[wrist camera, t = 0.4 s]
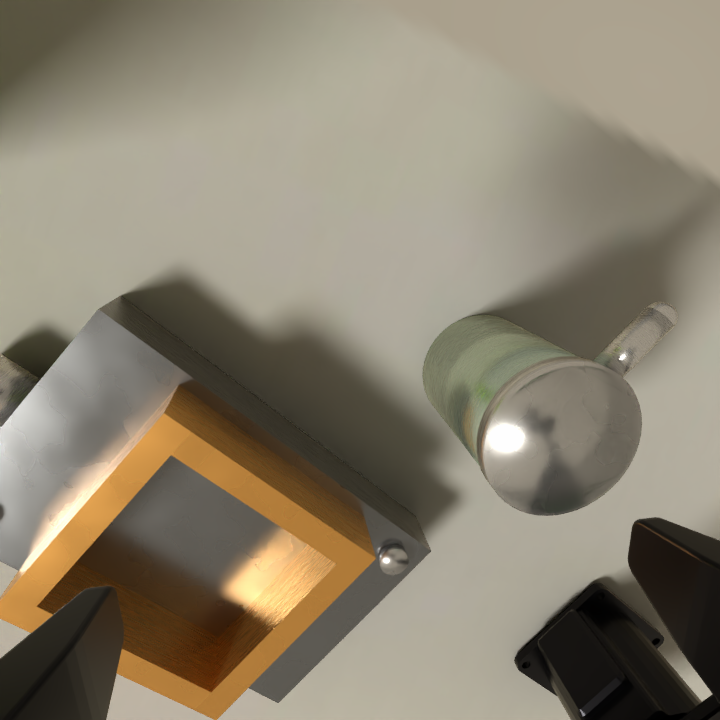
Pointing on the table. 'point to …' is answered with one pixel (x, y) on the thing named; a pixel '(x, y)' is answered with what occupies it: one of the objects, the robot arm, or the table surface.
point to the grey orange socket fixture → (186, 516)
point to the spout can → (542, 407)
